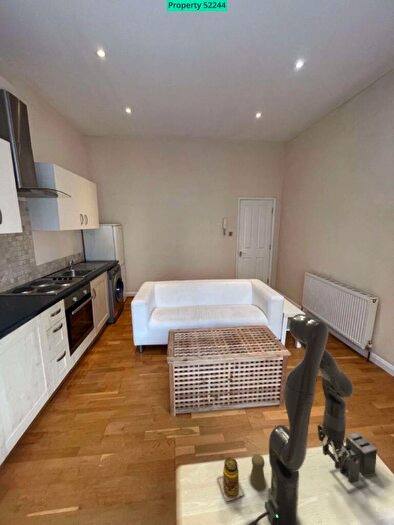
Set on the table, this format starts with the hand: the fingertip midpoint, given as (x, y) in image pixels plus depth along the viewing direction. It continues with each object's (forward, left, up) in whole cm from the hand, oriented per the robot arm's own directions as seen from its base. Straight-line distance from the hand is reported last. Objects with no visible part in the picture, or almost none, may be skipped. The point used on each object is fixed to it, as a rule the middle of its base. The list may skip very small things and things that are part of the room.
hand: (331, 460), depth 89 cm
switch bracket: (+10, 0, -11) cm, 15 cm away
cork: (-28, +9, -11) cm, 32 cm away
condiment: (-40, +10, -11) cm, 43 cm away
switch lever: (+5, 0, 0) cm, 5 cm away
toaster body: (+19, +3, -11) cm, 22 cm away
